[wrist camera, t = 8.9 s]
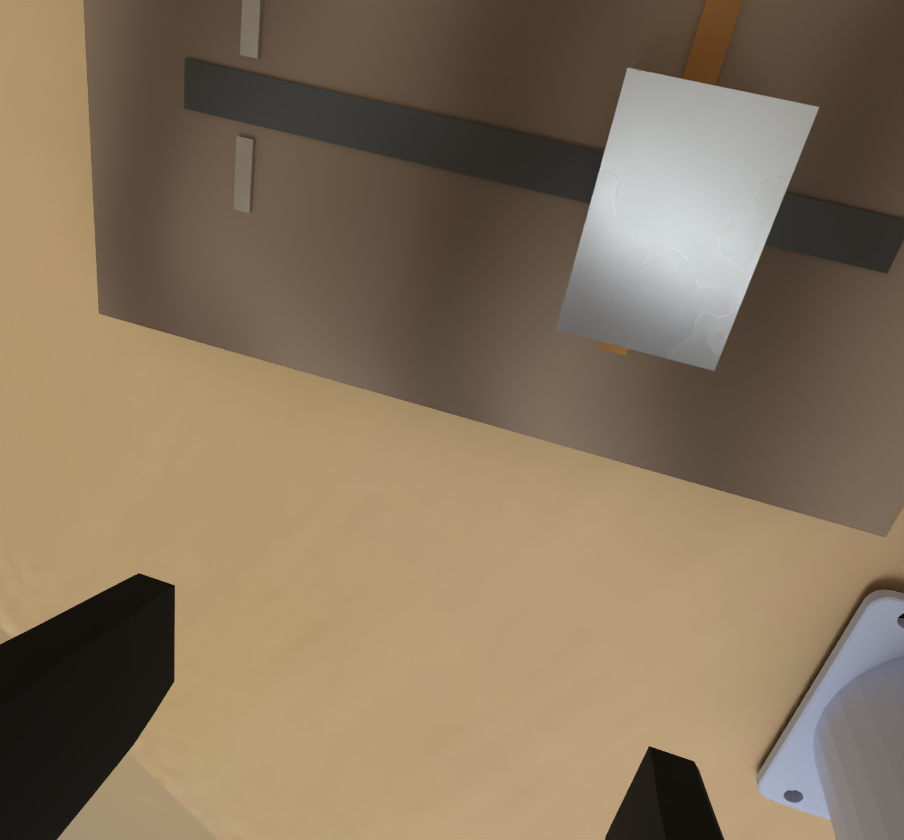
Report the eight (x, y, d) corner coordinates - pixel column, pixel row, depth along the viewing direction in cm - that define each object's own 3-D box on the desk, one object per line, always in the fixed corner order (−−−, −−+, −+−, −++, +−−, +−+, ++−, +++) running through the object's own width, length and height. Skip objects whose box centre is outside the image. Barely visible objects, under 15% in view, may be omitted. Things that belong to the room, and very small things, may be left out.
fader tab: (761, 107, 12) (819, 106, 8) (692, 298, 14) (714, 371, 10) (629, 80, 13) (627, 67, 9) (577, 269, 14) (555, 329, 10)
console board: (1200, -93, 11) (1283, -123, 10) (865, 503, 17) (887, 540, 15) (122, -262, 14) (64, -304, 12) (135, 299, 19) (95, 314, 18)
